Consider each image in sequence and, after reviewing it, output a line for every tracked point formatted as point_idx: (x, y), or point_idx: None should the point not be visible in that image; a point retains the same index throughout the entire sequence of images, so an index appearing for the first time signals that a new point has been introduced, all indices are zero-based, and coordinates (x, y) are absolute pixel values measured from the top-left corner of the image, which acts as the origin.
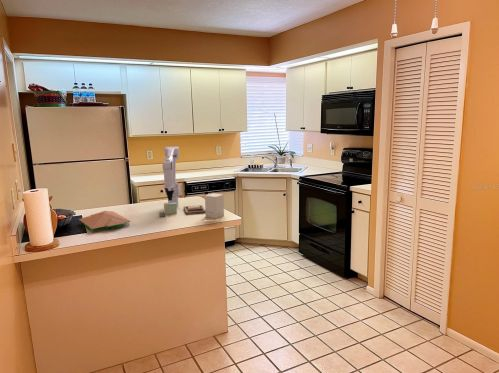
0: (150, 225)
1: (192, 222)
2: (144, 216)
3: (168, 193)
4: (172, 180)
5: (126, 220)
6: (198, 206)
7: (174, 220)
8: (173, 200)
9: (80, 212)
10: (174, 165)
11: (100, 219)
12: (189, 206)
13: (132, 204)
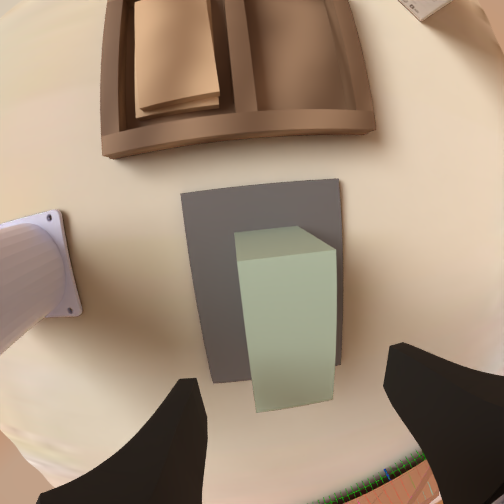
0: (469, 367)
1: (496, 130)
2: (285, 446)
3: (462, 456)
4: None
5: (429, 467)
6: (162, 3)
7: (452, 244)
8: (20, 289)
9: None
10: None
11: None
12: (114, 90)
13: (31, 462)
